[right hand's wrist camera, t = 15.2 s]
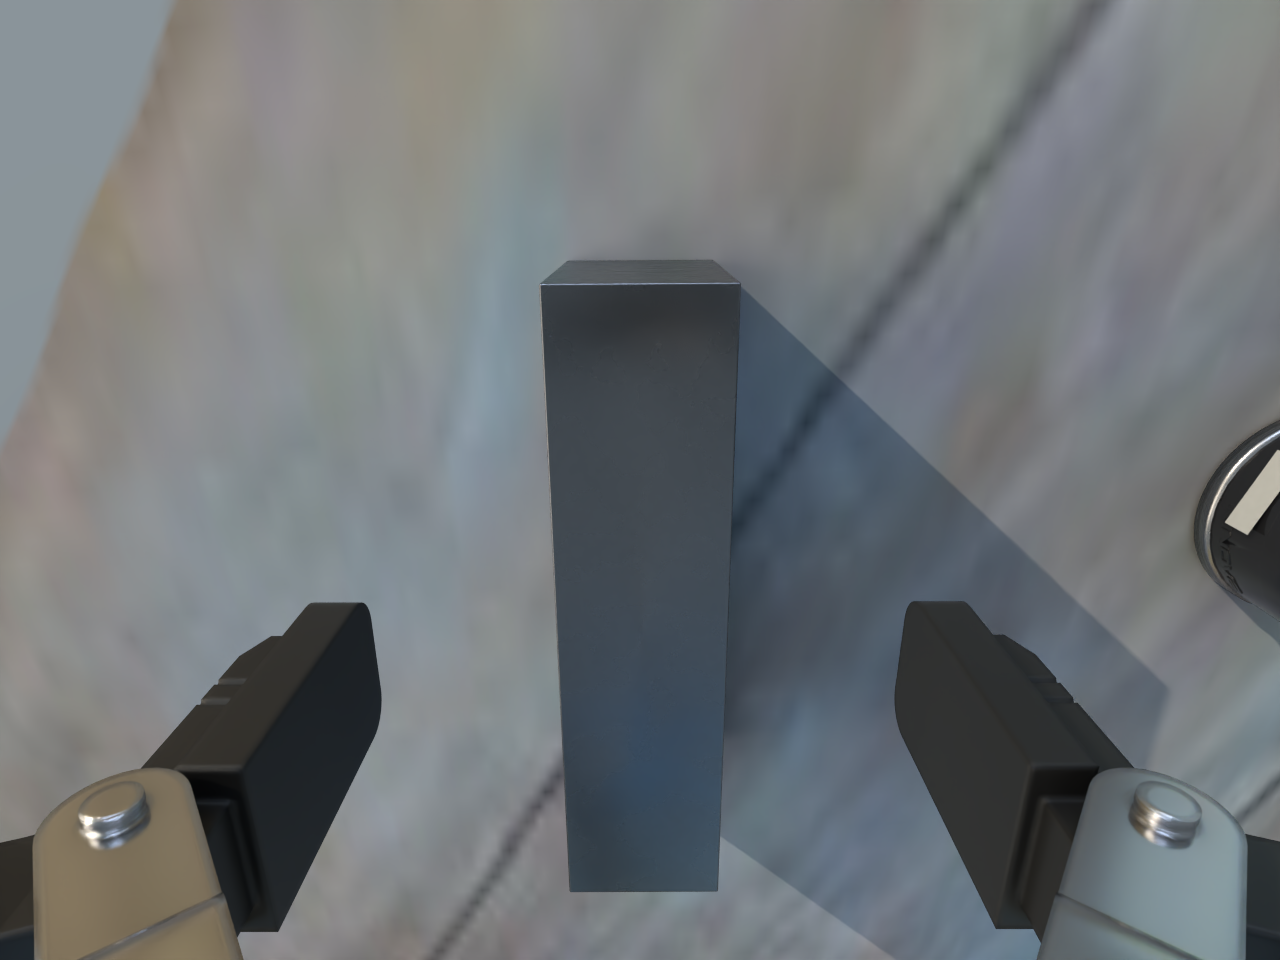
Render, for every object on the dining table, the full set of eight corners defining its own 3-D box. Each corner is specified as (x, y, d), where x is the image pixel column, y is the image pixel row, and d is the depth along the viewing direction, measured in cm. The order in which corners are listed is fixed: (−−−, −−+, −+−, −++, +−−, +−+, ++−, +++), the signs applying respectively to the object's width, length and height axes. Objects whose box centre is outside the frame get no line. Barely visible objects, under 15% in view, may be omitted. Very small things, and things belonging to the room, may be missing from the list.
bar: (566, 260, 31) (538, 283, 23) (713, 259, 31) (741, 282, 23) (584, 741, 40) (569, 892, 31) (701, 741, 40) (718, 892, 31)
